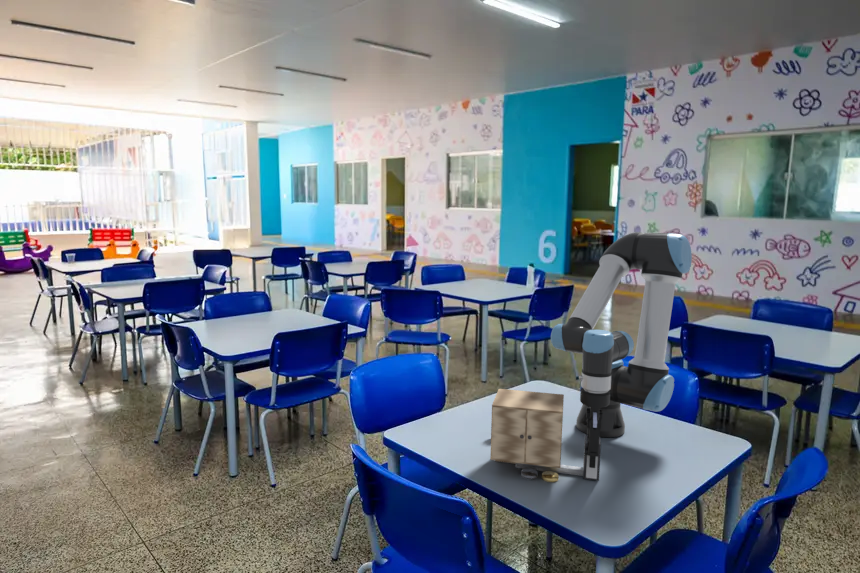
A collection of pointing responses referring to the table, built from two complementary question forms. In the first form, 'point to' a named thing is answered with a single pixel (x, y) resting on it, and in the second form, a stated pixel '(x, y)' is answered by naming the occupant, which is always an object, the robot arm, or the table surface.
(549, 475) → the brass disc
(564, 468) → the grey mallet
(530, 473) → the steel disc
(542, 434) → the cabinet
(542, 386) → the table surface
